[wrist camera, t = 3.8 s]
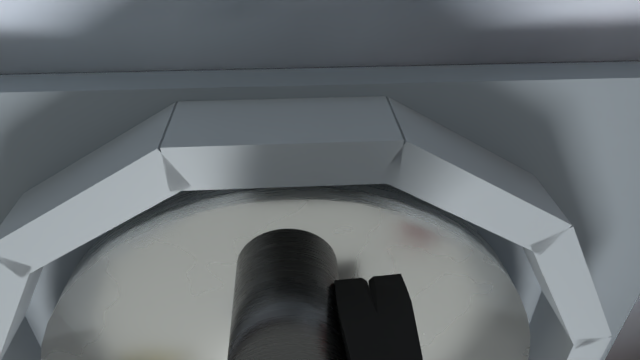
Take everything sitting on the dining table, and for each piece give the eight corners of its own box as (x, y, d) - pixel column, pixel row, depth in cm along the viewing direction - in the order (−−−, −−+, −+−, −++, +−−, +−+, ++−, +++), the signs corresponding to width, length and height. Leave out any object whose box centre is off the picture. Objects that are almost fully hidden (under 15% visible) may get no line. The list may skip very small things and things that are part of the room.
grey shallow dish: (539, 439, 22) (571, 514, 20) (41, 473, 21) (10, 557, 19) (725, 59, 12) (837, 114, 10) (-213, 79, 11) (-357, 148, 9)
